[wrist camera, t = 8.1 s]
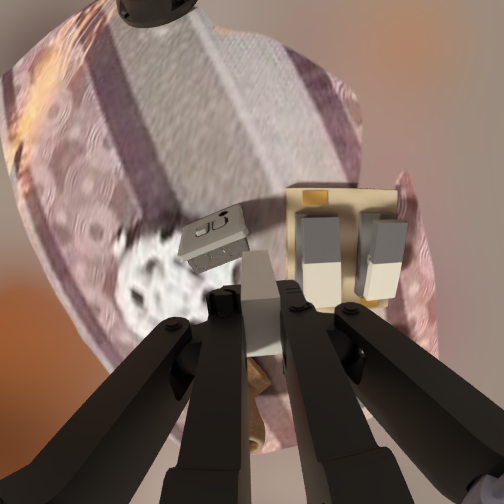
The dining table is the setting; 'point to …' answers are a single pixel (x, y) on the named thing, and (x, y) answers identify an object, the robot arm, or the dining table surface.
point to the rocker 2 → (385, 259)
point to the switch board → (351, 232)
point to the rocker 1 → (321, 261)
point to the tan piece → (255, 387)
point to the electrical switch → (214, 239)
